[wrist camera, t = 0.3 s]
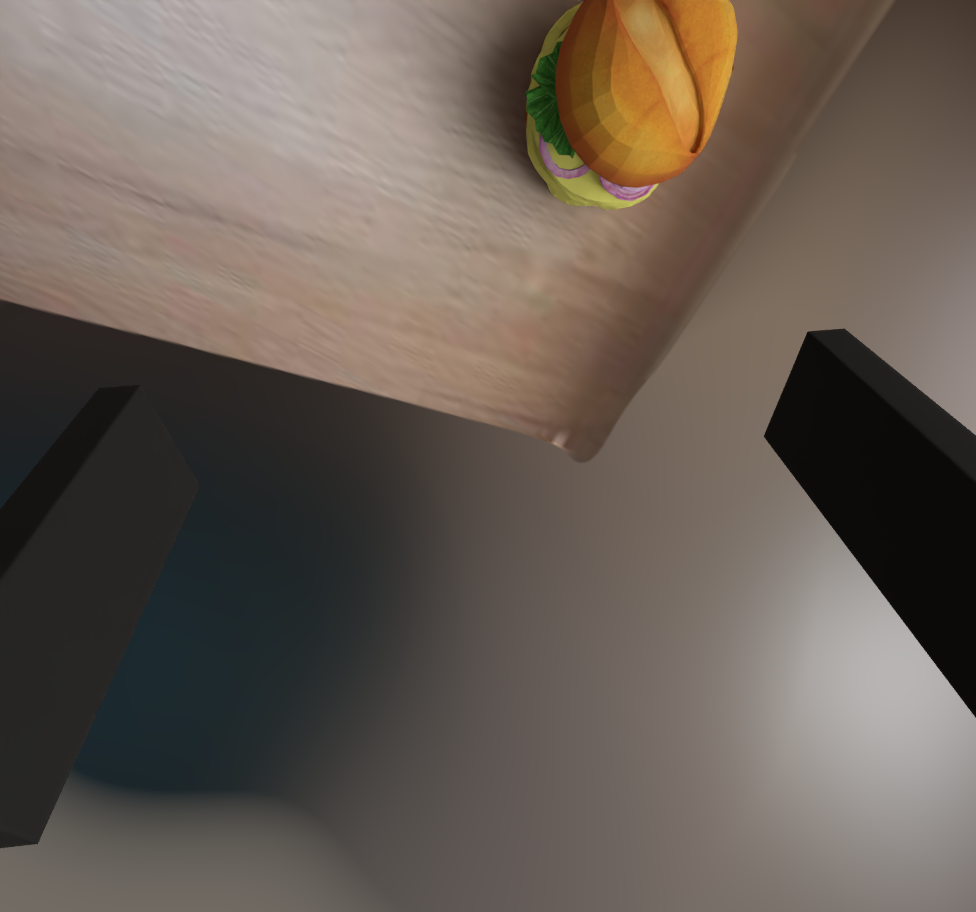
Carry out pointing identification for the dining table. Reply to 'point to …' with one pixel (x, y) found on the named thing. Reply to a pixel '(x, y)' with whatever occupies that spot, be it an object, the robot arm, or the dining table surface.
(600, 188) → the cheeseburger
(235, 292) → the dining table surface
